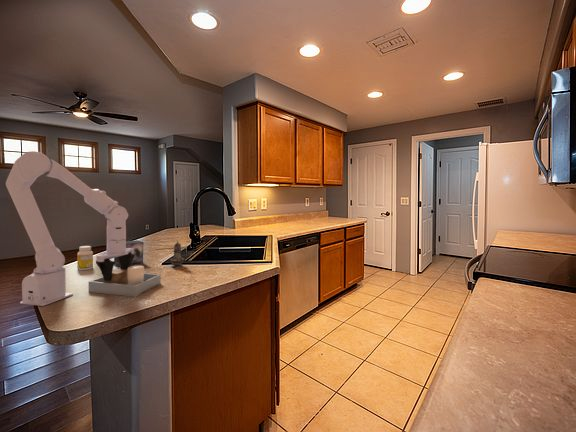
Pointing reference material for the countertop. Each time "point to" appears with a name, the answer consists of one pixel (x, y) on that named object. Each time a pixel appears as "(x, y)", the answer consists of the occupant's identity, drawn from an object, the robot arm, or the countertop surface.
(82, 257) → the supplement bottle
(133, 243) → the small box
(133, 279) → the beige round piece
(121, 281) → the walnut cube
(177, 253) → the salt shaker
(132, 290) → the tote
